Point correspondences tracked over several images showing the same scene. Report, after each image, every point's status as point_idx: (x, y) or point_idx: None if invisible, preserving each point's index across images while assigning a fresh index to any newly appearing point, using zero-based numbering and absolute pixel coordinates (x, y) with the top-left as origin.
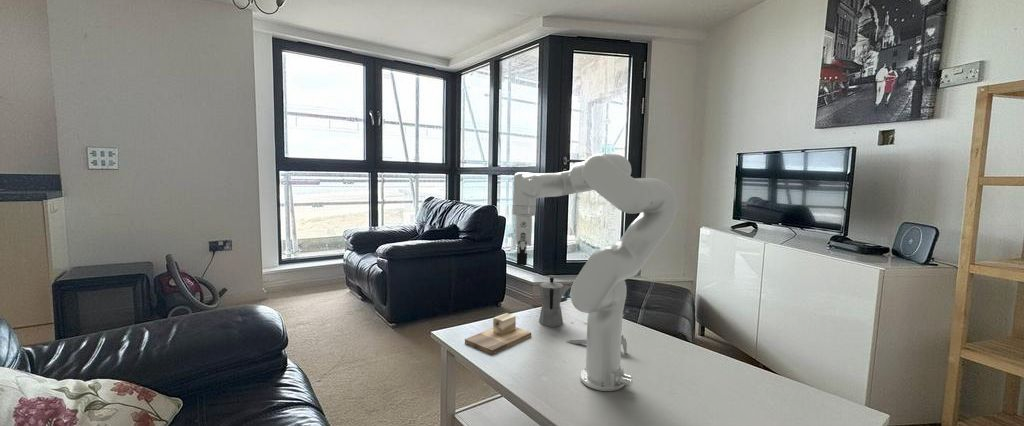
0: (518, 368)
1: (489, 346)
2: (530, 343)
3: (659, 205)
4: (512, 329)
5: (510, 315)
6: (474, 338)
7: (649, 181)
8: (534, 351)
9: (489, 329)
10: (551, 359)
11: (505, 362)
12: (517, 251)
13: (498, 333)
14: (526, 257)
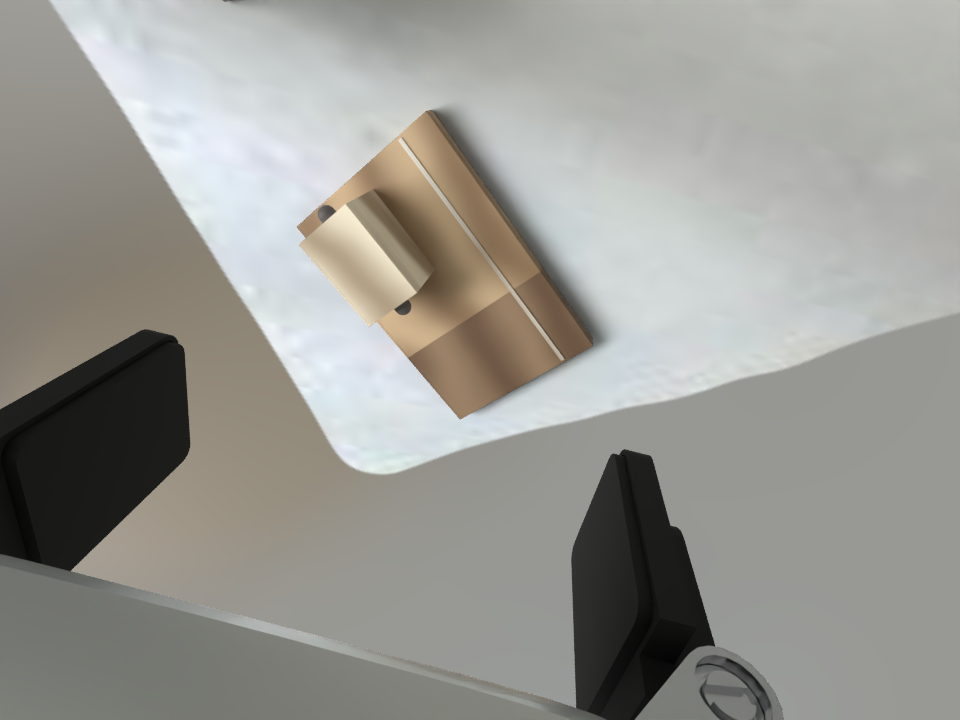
0: (755, 261)
1: (554, 348)
2: (514, 137)
3: None
4: (387, 209)
5: (339, 232)
6: (460, 386)
7: None
8: (611, 140)
9: None
10: (730, 71)
11: (679, 300)
12: (114, 509)
13: None
14: (670, 552)
